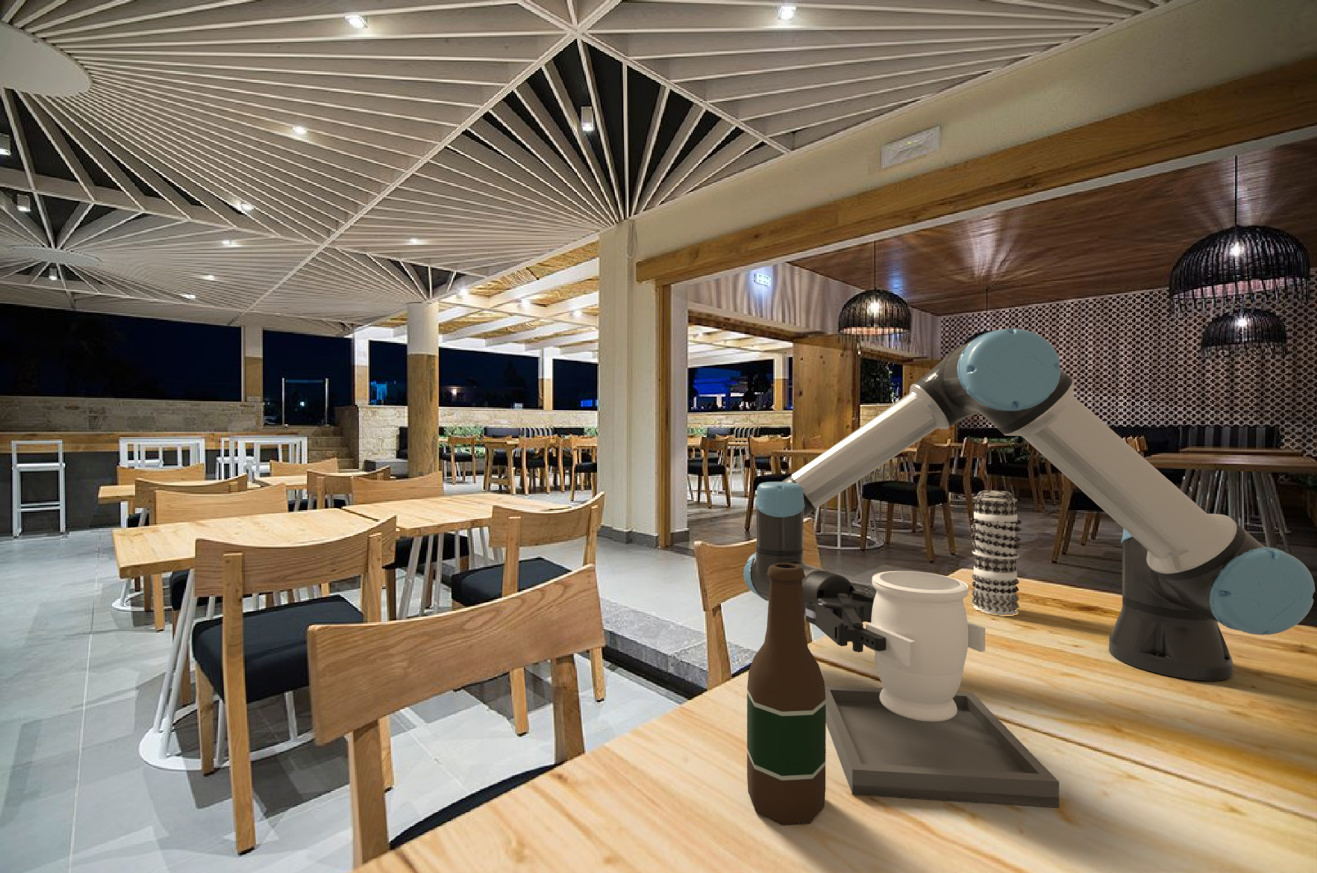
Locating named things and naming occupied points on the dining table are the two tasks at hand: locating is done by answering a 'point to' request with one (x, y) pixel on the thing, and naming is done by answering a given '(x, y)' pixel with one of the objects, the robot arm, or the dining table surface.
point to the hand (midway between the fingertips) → (949, 646)
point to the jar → (922, 642)
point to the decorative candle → (995, 553)
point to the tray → (933, 753)
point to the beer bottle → (786, 711)
